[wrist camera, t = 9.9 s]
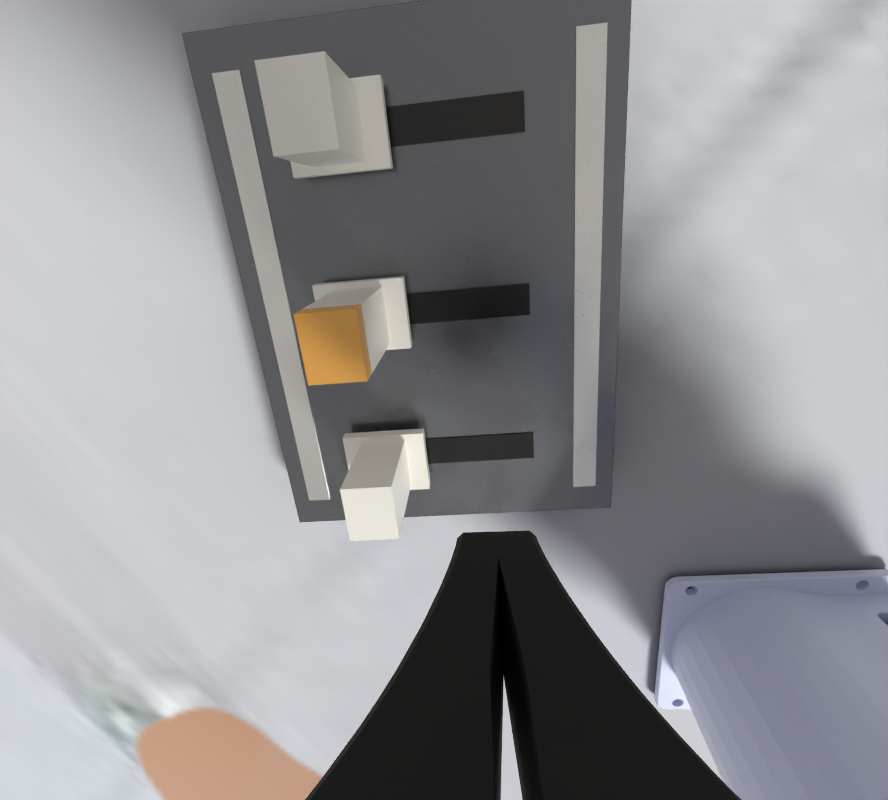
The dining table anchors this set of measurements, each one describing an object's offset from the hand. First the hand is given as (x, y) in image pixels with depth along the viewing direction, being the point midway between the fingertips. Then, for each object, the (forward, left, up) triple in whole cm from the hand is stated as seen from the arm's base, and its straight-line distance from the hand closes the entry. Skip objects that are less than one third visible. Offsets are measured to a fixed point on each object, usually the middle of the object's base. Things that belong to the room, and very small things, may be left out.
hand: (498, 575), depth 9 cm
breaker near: (+4, -9, -8) cm, 12 cm away
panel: (+2, -4, -10) cm, 11 cm away
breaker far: (+4, +2, -8) cm, 9 cm away
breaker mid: (+4, -4, -8) cm, 9 cm away
